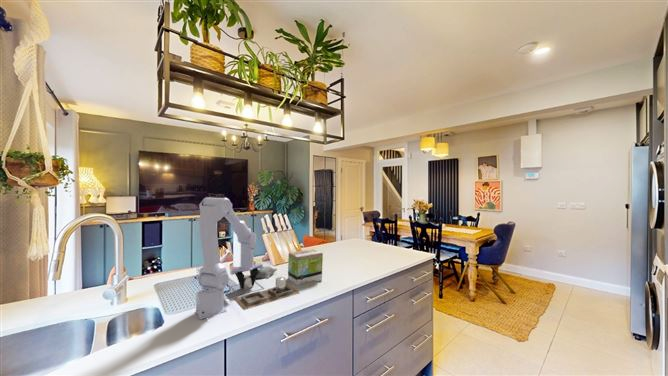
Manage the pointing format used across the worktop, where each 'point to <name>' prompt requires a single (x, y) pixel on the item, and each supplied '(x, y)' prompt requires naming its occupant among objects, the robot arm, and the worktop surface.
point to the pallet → (263, 297)
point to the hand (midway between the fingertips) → (246, 286)
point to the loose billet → (247, 282)
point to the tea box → (305, 266)
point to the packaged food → (265, 272)
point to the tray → (247, 292)
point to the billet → (280, 285)
